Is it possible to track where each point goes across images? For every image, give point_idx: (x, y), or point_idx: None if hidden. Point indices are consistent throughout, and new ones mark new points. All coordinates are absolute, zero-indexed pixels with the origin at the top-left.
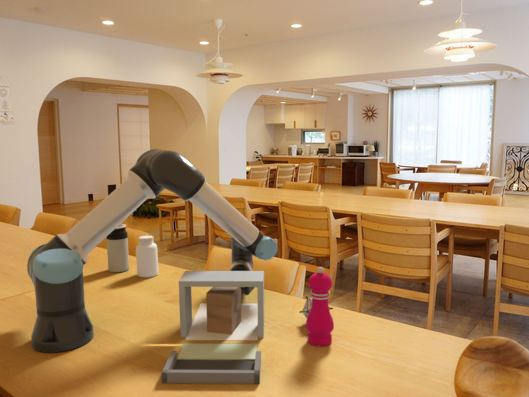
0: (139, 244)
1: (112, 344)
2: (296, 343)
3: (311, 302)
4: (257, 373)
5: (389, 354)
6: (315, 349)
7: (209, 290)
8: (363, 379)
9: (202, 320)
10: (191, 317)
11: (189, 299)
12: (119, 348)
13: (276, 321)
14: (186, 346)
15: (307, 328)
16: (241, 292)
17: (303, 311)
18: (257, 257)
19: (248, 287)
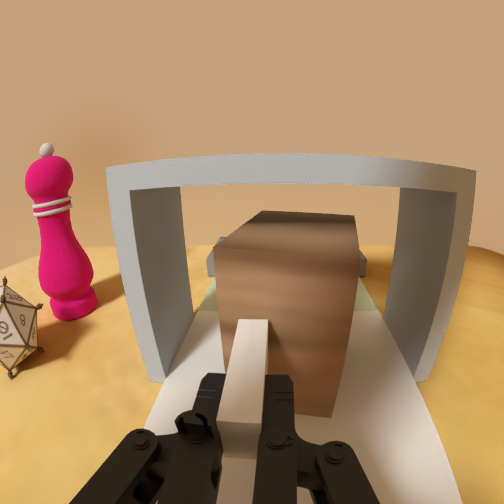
0: None
1: (491, 298)
2: (119, 307)
3: (11, 296)
4: (223, 237)
5: (32, 278)
6: (102, 292)
7: (353, 221)
8: (101, 255)
9: (390, 400)
10: (417, 350)
11: (424, 265)
12: (471, 292)
13: (98, 399)
14: (361, 295)
15: (92, 274)
16: (204, 383)
17: (29, 333)
18: None
19: (130, 436)
